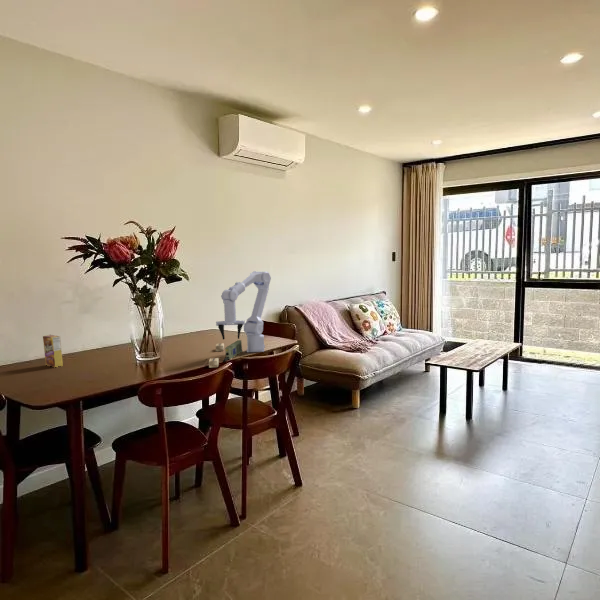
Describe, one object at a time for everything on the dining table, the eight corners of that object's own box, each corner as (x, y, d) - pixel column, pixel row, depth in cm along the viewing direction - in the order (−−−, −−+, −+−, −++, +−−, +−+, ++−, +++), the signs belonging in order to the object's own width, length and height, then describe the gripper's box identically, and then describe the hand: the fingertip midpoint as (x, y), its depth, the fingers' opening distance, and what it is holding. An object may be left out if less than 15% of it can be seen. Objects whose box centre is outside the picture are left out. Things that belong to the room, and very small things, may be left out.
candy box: (44, 366, 228) (42, 335, 226) (53, 364, 231) (50, 334, 229) (54, 368, 223) (52, 337, 221) (63, 366, 226) (60, 335, 225)
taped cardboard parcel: (224, 348, 258) (223, 343, 258) (217, 367, 216) (217, 360, 216) (216, 348, 258) (216, 343, 257) (209, 367, 216) (208, 361, 216)
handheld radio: (243, 351, 250) (227, 363, 225) (237, 352, 250) (221, 363, 226) (242, 339, 249) (226, 349, 225) (236, 340, 250) (220, 349, 225)
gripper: (214, 314, 231) (216, 340, 232) (243, 313, 231) (244, 339, 233) (216, 312, 238) (217, 338, 239) (244, 311, 238) (245, 337, 240)
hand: (231, 338), depth 236 cm, fingers open, 7 cm apart
